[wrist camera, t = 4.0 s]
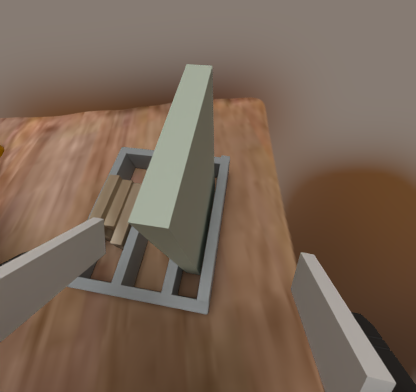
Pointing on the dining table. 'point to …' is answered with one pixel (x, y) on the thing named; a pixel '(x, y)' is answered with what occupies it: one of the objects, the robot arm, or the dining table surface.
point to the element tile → (1, 150)
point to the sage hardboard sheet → (181, 175)
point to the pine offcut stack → (116, 208)
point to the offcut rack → (137, 244)
